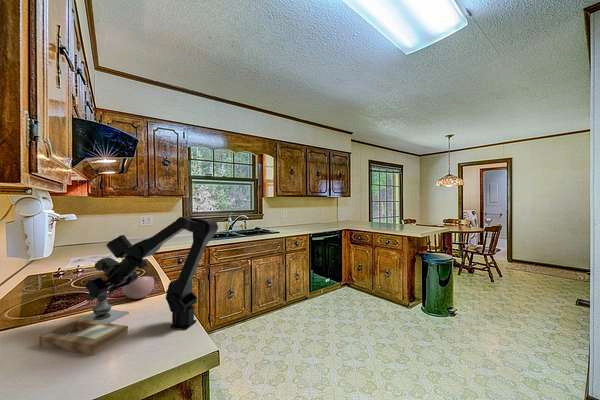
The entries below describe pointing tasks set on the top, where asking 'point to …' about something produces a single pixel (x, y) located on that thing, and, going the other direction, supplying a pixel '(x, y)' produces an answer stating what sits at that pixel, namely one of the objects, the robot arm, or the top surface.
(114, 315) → the slate tile
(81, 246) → the top surface
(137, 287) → the mortar and pestle
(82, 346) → the puzzle board
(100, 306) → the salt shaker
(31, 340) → the top surface
